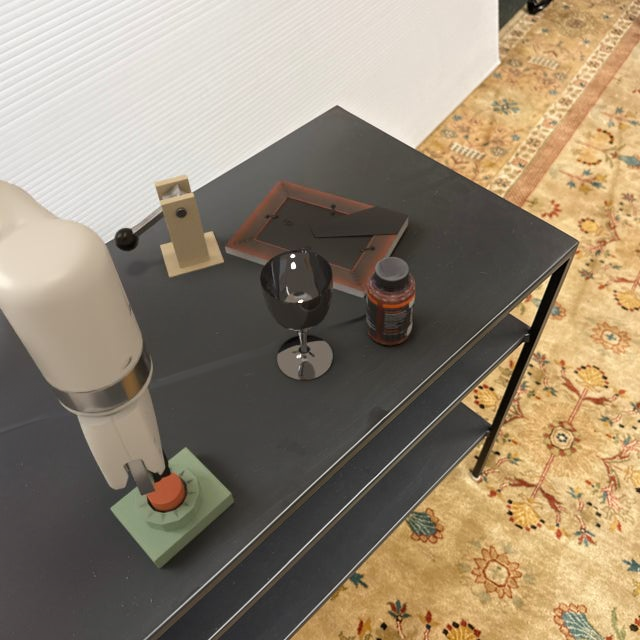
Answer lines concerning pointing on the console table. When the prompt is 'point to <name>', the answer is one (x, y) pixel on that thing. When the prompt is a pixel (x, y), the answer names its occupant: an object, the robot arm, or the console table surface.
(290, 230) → the picture frame
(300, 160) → the console table surface
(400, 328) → the supplement bottle
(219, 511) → the button box
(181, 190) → the lever
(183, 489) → the button
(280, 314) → the wine glass
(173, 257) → the toaster bracket
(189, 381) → the console table surface
